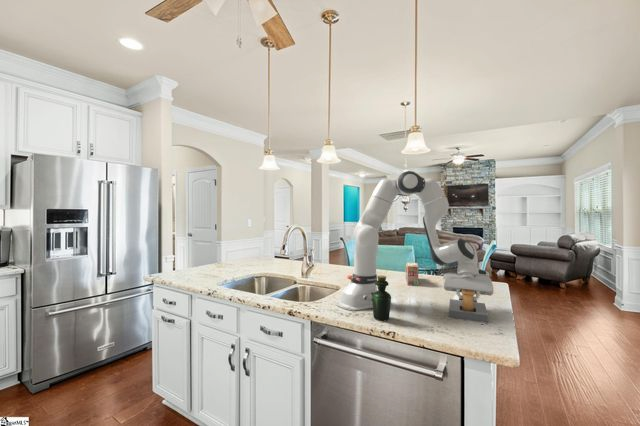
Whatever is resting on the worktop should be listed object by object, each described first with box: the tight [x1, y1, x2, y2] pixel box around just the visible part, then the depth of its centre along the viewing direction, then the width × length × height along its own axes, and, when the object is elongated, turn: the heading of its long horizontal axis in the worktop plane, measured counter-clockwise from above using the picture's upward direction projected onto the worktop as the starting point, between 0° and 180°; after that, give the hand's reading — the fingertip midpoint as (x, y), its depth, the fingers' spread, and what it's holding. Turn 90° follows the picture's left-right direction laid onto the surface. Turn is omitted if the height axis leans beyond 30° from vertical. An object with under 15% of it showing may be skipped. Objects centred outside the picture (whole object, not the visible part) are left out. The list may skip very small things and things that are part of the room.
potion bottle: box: [372, 275, 392, 322], centre depth 130 cm, size 8×8×18 cm
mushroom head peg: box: [461, 289, 476, 312], centre depth 135 cm, size 5×5×9 cm
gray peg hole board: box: [448, 298, 489, 323], centre depth 138 cm, size 18×15×6 cm
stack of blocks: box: [404, 262, 419, 287], centre depth 196 cm, size 21×6×12 cm, turn 168°
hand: (467, 300), depth 134 cm, fingers closed on mushroom head peg, 4 cm apart
